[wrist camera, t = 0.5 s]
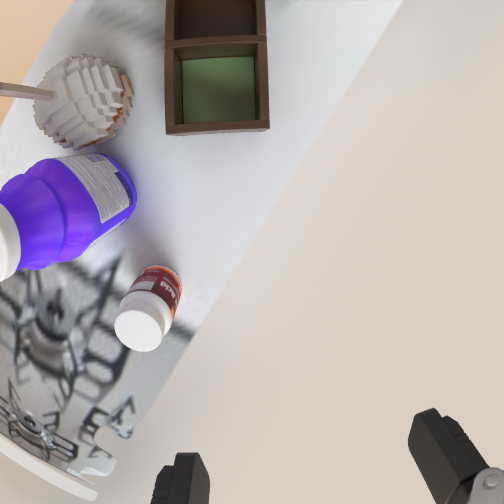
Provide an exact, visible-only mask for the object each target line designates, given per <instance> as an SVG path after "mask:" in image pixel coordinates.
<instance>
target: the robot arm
mask: <svg viewBox="0 0 504 504" xmlns="http://www.w3.org/2000/svg"><path fill="white" fill-rule="evenodd" d="M408 446H409V450H410V452H411V454H412V456H413V458H414V460H415V462H416V464H417V466H418V468H419V470H420V472H421V474H422V476H423V478H424V480H425V481H426V484H427V486H428V488H429V490H430V492H431V494H432V496H433V498H434V500H435V502H436V504H504V471H502V470H501V469H499V468H494V467H490V466H488V465H487V463H486V462H485V460H484V459H483V457H482V456H481V455H480V453H479V452H478V450H477V449H476V447H475V446H474V444H473V443H472V442H471V440H469V437H468V436H467V435H466V433H464V431H463V429H462V428H461V426H460V425H459V424H458V422H456V421H455V420H453V419H452V418H450V417H449V416H445V417H443V418H442V417H441V415H440V414H439V413H438V411H437V410H436V409H435V408H431V409H428V410H426V411H423V412H420V413H418V414H416V415H415V416H414V419H413V423H412V427H411V430H410V434H409V437H408ZM209 492H210V479H209V475H208V472H207V470H206V468H205V466H204V464H203V461H202V459H201V457H200V455H199V453H197V452H196V453H177V455H176V457H175V462H174V466H167V465H166V466H164V467H163V469H162V470H161V471H160V473H159V474H158V475H157V479H156V483H155V489H154V491H153V495H152V496H153V498H152V500H151V504H209Z"/></svg>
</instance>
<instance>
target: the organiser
mask: <svg viewBox="0 0 504 504" xmlns="http://www.w3.org/2000/svg"><path fill="white" fill-rule="evenodd" d="M165 123H166V135H173V136H185V135H197V134H211V133H230V132H263V131H266V130H268V129H270V121H269V89H268V61H267V36H266V15H265V0H166V20H165Z"/></svg>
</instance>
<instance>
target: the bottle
mask: <svg viewBox="0 0 504 504" xmlns="http://www.w3.org/2000/svg"><path fill="white" fill-rule="evenodd" d="M136 201H137V194H136V190H135V187H134V185H133V183H132V181H131V179H130V178H129V176H128V174H127V173H126V172H125V171H124V169H123V168H122V167H121V166H120V165H119V164H118V163H117V162H116V161H114V160H113V159H112V158H110V157H109V156H107V155H104V154H101V153H93V154H83V155H75V156H66V157H59V158H52V159H44V160H41V161H39V162H37V163H36V164H35V165H34V166H32V167H31V168H29V169H28V171H27V172H26V173H25V174H19V175H17V176H15V177H13V178H12V179H10V180H9V181H8V182H7V183H6V184H5V185H4V186H3V187H2V189H1V191H0V282H1V281H2V280H4V279H5V278H8V277H10V276H11V275H12V274H13V273H14V272H16V271H17V270H19V269H21V268H27V269H32V270H39V269H42V268H45V267H47V266H49V265H50V264H52V263H53V262H65V261H69V260H72V259H75V258H77V257H79V256H80V255H82V254H83V253H84V252H85V251H87V250H88V249H89V248H91V247H92V246H93V245H95V244H96V243H97V242H98V241H100V240H101V239H102V238H104V237H105V236H106V235H108V234H109V233H110V232H112V231H113V230H114V229H116V228H117V227H118V226H119V225H121V224H122V223H123V222H124V221H126V220H127V219H128V218H129V216H130V214H131V213H132V212H133V210H134V208H135V205H136Z"/></svg>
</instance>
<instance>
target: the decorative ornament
mask: <svg viewBox="0 0 504 504" xmlns="http://www.w3.org/2000/svg"><path fill="white" fill-rule="evenodd" d="M45 74H46V76H45V77H43V79H44V80H43V81H42V82H41V83H40V84H39V85H38V86H37V88H34V87H29V86H23V85H16V84H9V83H2V82H0V96H7V97H17V98H27V99H35V101H34V103H35V104H34V105H33V107H34V111H35V114H34V118H35V121H36V125H37V126H39V129H40V130H44V134H45V135H48V137H53V140H54V143H58V142H59V144H60V145H62V146H63V148H69V147H73V150H80V149H82V148H83V147H87V146H89V145H91V144H93V143H95V146H98V145H100V144H102V143H104V142H105V141H107V140H109V139H111V138H113V137H114V136H116V135H118V134H117V131H116V129H117V128H119V127H121V126H123V125H125V124H126V122H125V120H124V118H126V117H128V116H129V114H128V111H127V110H129V109H131V108H133V107H132V105H131V102H130V99H129V97H130V96H132V95H134V93H133V90H132V87H131V85H130V82H129V79H128V77H127V74H123V75H120V72H119V69H118V68H117V67H112V66H111V65H110V64H109V62H107V61H105V60H103V59H101V58H100V57H98V58H95V57H93V56H92V55H91V56H87V55H85V54H83V55H81V56H78V57H77V58H75V57H73V56H70V57H69V58H66V59H65V60H63V61H62V62H60V63H59V64H57V65H56V66H55V67H53V68H52V69H50V70H49V71H48V72H46V73H45Z"/></svg>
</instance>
